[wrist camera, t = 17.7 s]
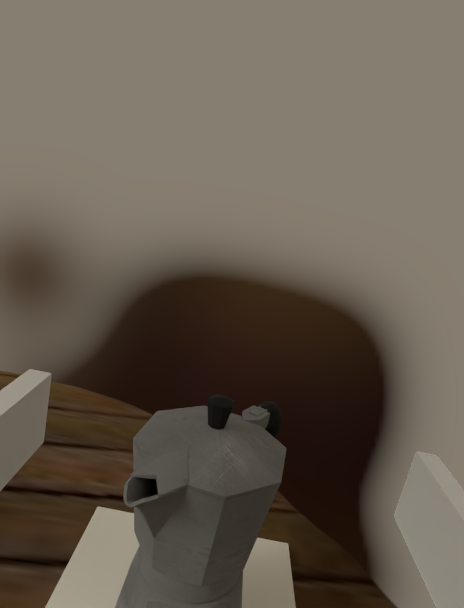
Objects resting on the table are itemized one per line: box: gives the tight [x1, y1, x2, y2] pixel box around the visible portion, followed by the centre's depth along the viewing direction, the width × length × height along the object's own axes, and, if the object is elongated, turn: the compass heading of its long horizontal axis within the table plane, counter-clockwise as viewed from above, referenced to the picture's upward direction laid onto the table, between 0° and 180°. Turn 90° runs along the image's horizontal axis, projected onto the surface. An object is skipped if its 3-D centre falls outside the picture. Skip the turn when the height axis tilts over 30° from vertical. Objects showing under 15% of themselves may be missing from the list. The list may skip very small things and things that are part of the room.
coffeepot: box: [115, 395, 286, 608], centre depth 27 cm, size 15×9×18 cm, turn 145°
